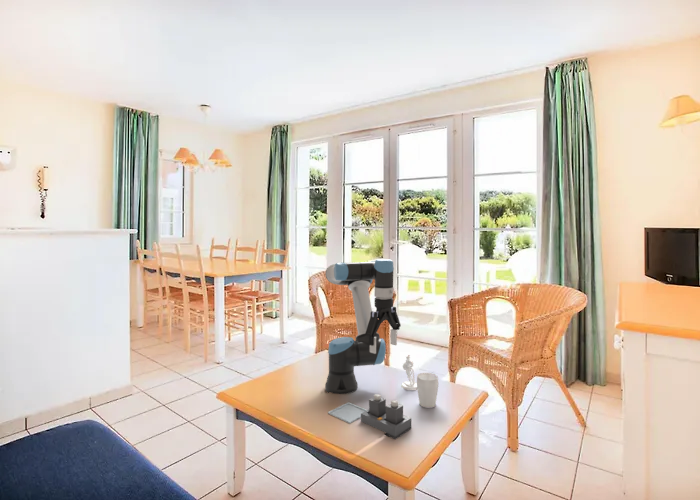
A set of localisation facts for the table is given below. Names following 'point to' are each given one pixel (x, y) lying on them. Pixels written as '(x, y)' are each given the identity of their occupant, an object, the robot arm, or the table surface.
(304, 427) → the table surface
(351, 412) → the tray
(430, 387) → the cup
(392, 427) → the gray block holder
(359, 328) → the robot arm
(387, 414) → the plug
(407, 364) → the figurine
